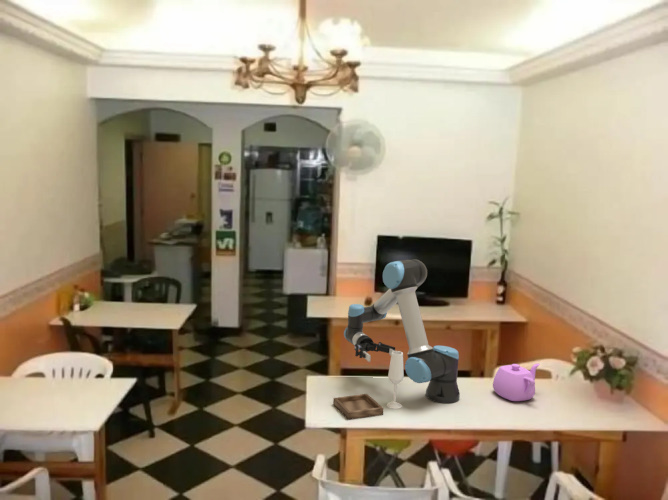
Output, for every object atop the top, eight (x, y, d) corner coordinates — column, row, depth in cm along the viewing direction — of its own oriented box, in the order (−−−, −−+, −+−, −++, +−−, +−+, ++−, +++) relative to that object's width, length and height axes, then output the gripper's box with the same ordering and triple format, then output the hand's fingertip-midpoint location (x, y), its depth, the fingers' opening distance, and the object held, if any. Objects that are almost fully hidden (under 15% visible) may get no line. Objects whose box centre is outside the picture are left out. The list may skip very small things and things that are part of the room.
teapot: (517, 409, 268) (520, 376, 266) (486, 391, 287) (489, 360, 285) (556, 402, 278) (559, 370, 275) (524, 385, 297) (527, 355, 294)
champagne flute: (385, 407, 264) (388, 354, 260) (387, 401, 270) (390, 349, 267) (401, 409, 263) (404, 355, 259) (402, 403, 269) (405, 350, 265)
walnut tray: (366, 400, 271) (366, 393, 271) (383, 414, 257) (383, 408, 256) (333, 404, 265) (333, 397, 264) (348, 419, 250) (348, 413, 250)
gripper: (385, 347, 299) (407, 362, 280) (338, 352, 289) (357, 368, 270) (386, 332, 298) (408, 347, 279) (339, 336, 288) (358, 351, 269)
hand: (383, 357), depth 274 cm, fingers open, 13 cm apart
